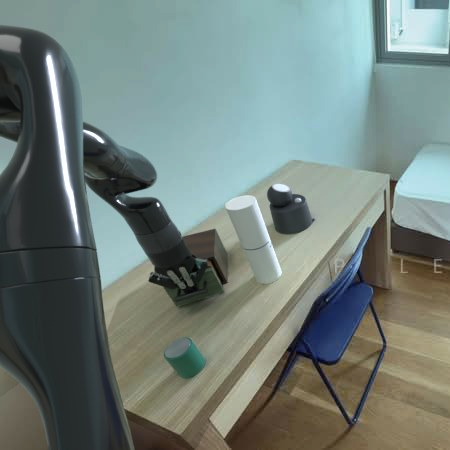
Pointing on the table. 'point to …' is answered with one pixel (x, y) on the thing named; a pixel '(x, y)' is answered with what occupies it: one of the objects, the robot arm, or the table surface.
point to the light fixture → (288, 210)
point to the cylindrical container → (254, 238)
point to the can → (184, 357)
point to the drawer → (207, 286)
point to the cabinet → (209, 249)
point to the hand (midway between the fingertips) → (194, 294)
